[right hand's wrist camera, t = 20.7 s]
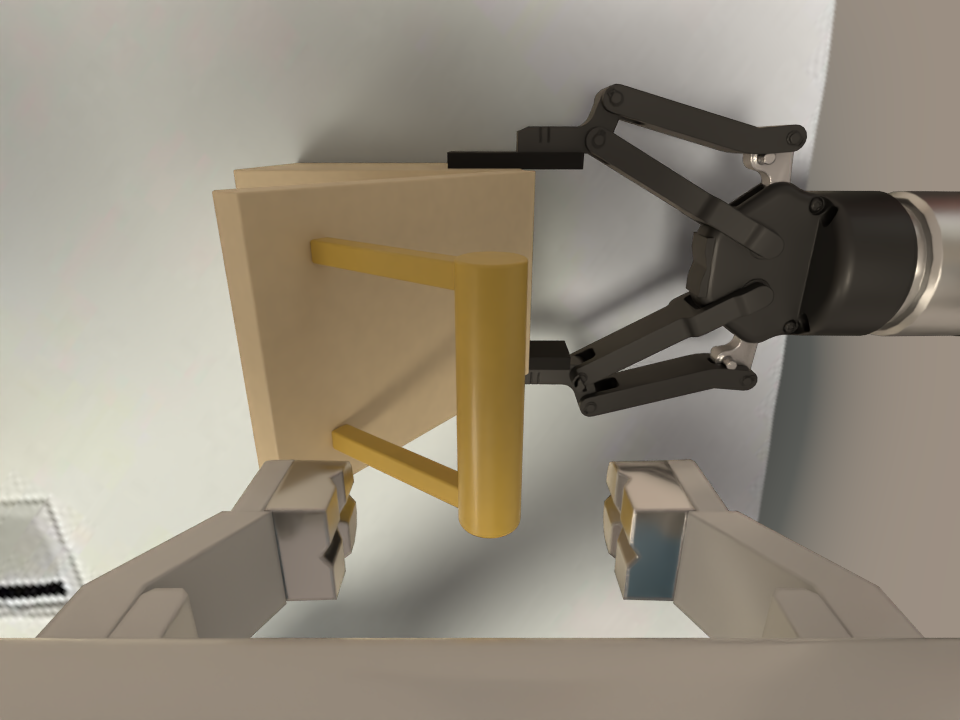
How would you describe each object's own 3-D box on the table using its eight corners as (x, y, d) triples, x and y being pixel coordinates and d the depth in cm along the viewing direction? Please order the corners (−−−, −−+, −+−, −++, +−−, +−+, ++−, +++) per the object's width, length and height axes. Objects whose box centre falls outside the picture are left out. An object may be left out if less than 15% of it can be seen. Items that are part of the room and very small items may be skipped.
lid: (263, 500, 18) (461, 623, 13) (210, 190, 15) (453, 212, 10) (508, 368, 29) (666, 411, 24) (512, 170, 25) (699, 176, 20)
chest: (313, 314, 38) (262, 364, 29) (296, 162, 34) (232, 169, 26) (511, 315, 38) (518, 365, 29) (514, 162, 34) (523, 169, 25)
